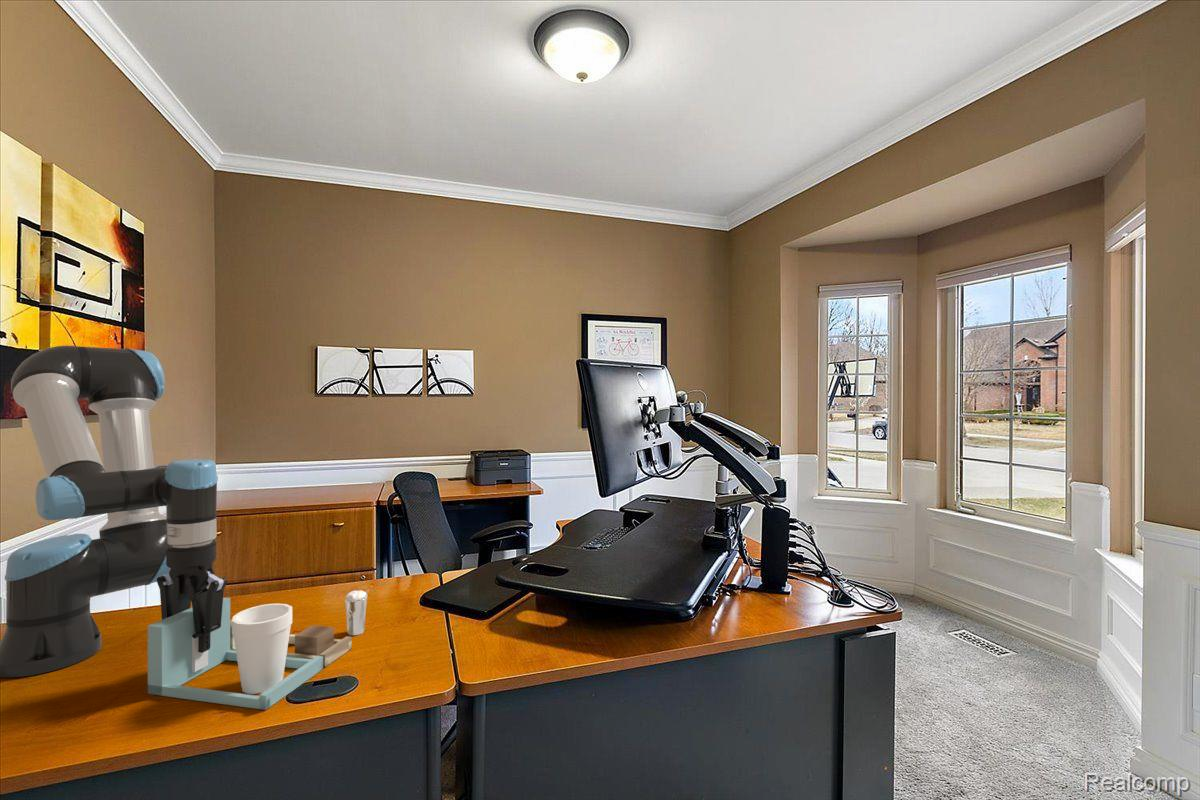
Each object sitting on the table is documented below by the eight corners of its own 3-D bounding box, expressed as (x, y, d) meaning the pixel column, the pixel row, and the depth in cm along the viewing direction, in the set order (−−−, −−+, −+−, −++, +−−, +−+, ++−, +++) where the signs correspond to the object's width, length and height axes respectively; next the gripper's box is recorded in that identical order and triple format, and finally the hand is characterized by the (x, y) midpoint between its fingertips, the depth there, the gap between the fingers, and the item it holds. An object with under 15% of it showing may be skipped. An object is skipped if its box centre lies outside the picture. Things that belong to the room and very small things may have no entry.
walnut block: (294, 660, 107) (294, 635, 107) (312, 649, 112) (312, 625, 112) (316, 663, 106) (316, 637, 106) (333, 651, 111) (334, 627, 111)
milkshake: (361, 638, 117) (362, 592, 117) (340, 636, 118) (340, 590, 118) (374, 629, 121) (374, 585, 121) (353, 627, 122) (353, 583, 122)
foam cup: (222, 687, 97) (222, 615, 97) (276, 666, 105) (276, 599, 104) (247, 704, 92) (247, 629, 91) (302, 681, 99) (302, 611, 99)
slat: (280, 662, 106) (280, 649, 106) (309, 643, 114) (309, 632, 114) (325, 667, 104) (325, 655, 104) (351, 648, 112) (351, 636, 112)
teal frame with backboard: (147, 693, 94) (147, 625, 94) (217, 656, 108) (217, 596, 108) (265, 710, 90) (266, 638, 90) (322, 668, 103) (323, 606, 103)
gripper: (135, 545, 99) (135, 672, 99) (210, 551, 96) (209, 682, 96) (175, 535, 106) (175, 653, 106) (245, 539, 103) (245, 661, 103)
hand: (191, 666), depth 101 cm, fingers closed on teal frame with backboard, 3 cm apart
